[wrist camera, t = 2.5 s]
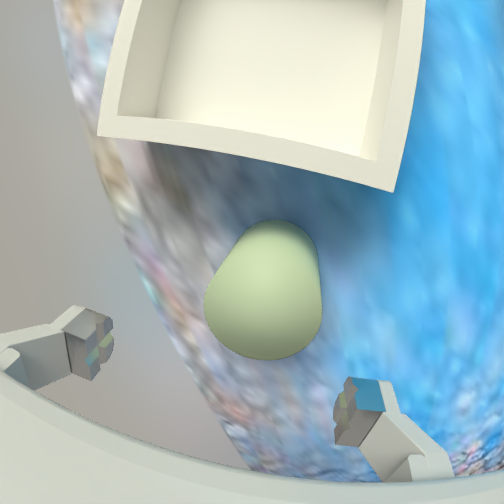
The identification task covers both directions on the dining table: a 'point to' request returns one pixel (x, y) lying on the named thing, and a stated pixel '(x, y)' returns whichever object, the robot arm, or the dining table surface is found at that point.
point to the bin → (270, 80)
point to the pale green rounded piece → (266, 293)
